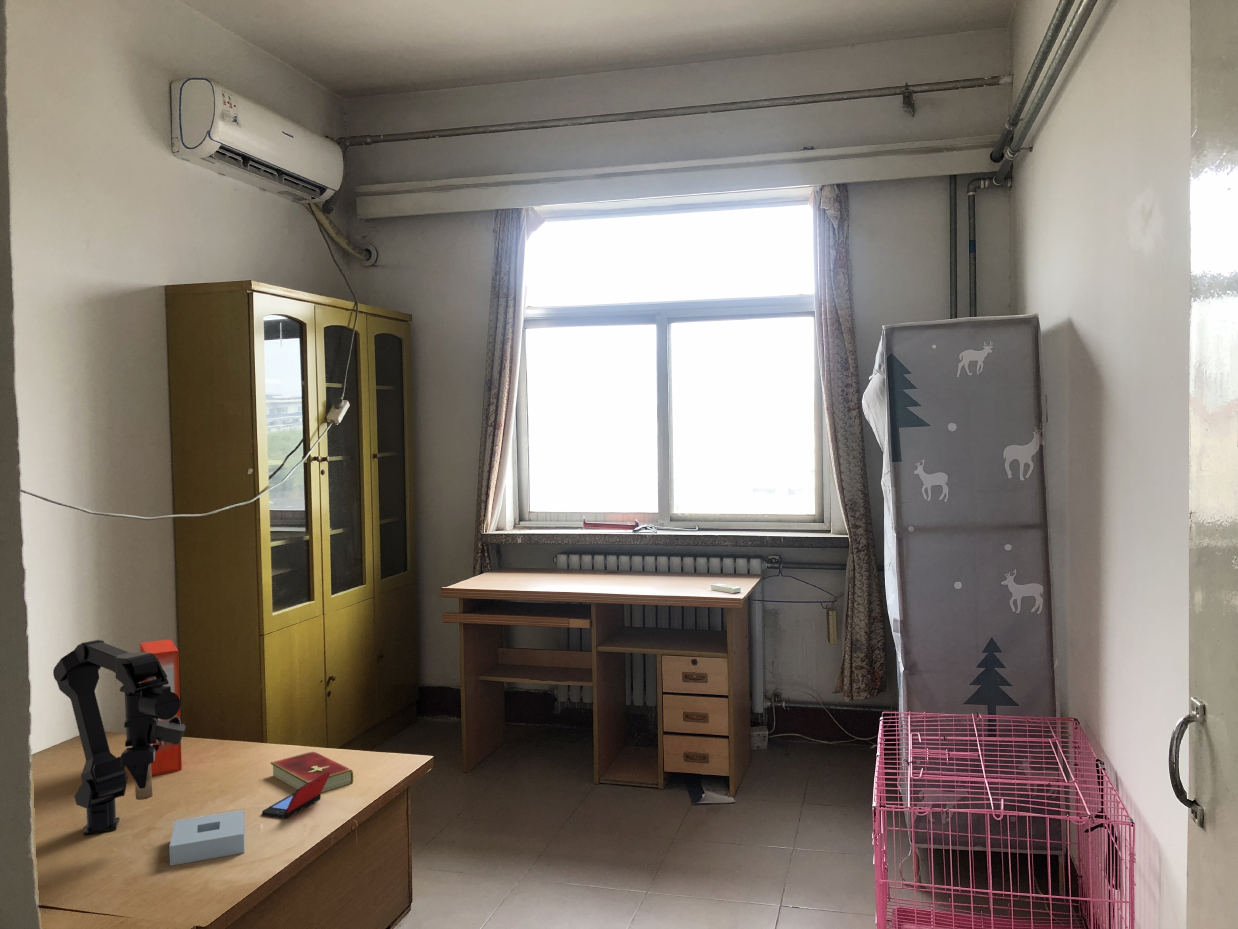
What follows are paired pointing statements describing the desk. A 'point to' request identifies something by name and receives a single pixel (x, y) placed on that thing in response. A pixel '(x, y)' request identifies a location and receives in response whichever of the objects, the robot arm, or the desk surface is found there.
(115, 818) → the robot arm
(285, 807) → the handheld game console
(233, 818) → the socket block
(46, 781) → the desk surface
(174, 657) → the file binder
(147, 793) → the peg
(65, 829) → the desk surface
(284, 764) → the hardcover book
